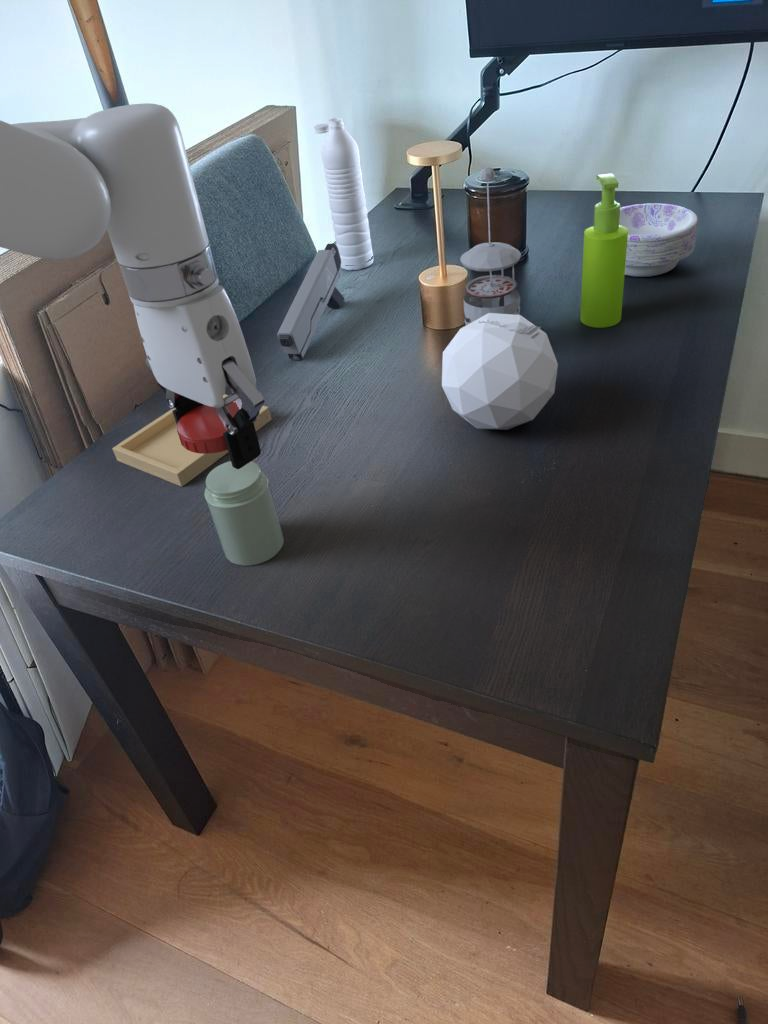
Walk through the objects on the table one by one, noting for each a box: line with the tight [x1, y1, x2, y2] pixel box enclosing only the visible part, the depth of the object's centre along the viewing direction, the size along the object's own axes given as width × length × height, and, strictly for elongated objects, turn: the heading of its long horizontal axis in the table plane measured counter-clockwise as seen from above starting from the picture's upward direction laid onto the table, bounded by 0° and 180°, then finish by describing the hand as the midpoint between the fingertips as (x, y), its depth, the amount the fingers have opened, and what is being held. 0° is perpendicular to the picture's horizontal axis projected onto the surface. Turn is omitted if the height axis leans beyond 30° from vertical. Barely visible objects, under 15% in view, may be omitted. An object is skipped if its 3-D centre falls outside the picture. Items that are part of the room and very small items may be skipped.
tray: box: [111, 393, 273, 488], centre depth 100 cm, size 17×13×2 cm
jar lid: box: [177, 402, 239, 454], centre depth 73 cm, size 7×7×2 cm
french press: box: [459, 167, 522, 326], centre depth 103 cm, size 10×12×25 cm
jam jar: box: [203, 460, 285, 567], centre depth 79 cm, size 7×7×9 cm
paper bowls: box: [619, 203, 699, 278], centre depth 124 cm, size 15×15×8 cm
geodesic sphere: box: [441, 313, 559, 431], centre depth 91 cm, size 15×14×14 cm
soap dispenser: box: [579, 173, 628, 329], centre depth 108 cm, size 6×7×20 cm
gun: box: [276, 243, 345, 361], centre depth 121 cm, size 2×25×10 cm, turn 164°
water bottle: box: [313, 117, 374, 271], centre depth 134 cm, size 9×6×25 cm
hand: (221, 448), depth 74 cm, fingers closed on jar lid, 6 cm apart
